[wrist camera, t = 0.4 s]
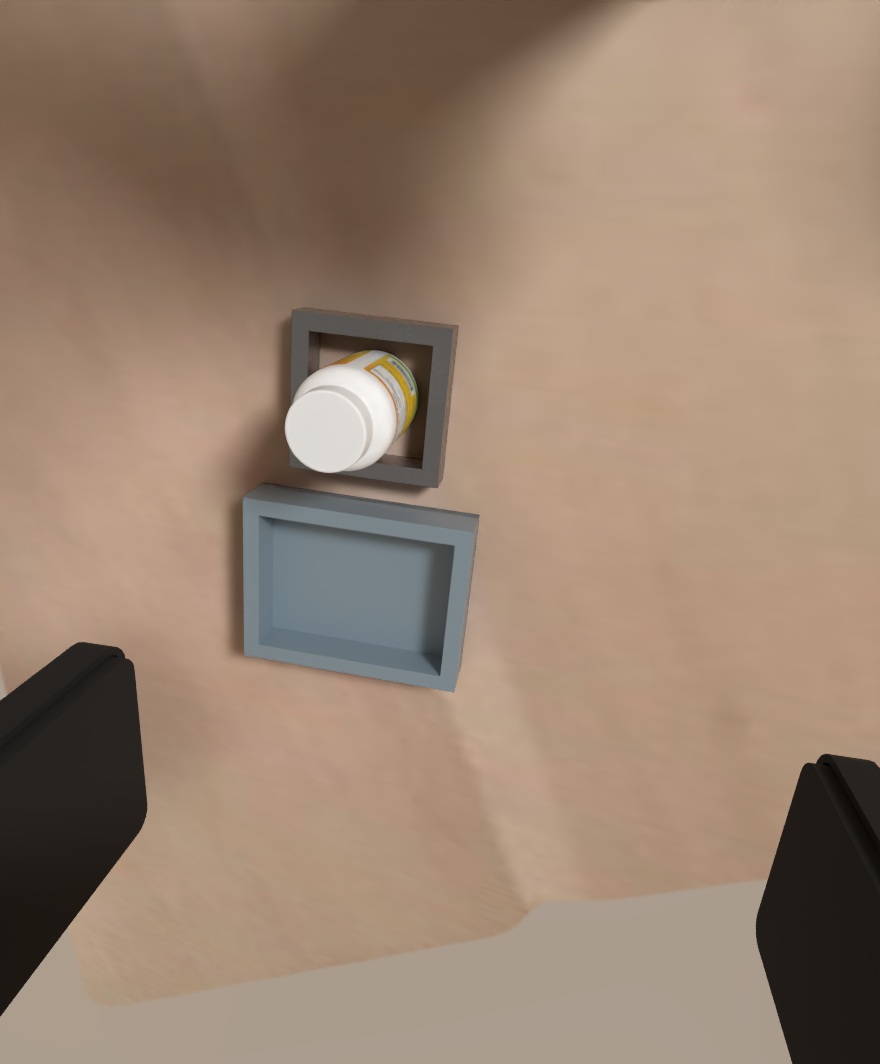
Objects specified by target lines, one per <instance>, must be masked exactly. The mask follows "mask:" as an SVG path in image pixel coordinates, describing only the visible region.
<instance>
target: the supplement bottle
mask: <svg viewBox="0 0 880 1064" xmlns="http://www.w3.org/2000/svg"><path fill="white" fill-rule="evenodd" d="M417 407H418V389H417V385H416V382H415V379H414V377H413V375H412V373H411V371H410V370H409V369H408V367H407V366H406V365H405V364H404V363H403V362H402V361H401V360H400V359H398V358H397V357H395V356H394V355H392V354H390V353H387V352H384V351H380V350H363V351H359V352H356V353H354V354H351V355H349V356H347V357H345V358H343V359H341V360H339V361H337V362H335V363H332V364H330V365H328V366H326V367H323V368H321V369H319V370H318V371H316V372H315V373H313V374H312V375H310V376H309V377H308V378H307V379H306V380H305V381H304V382H303V383H302V384H301V385H300V387H299V389H298V390H297V392H296V394H295V397H294V400H293V404H292V405H291V407H290V409H289V411H288V413H287V416H286V420H285V435H286V439H287V442H288V445H289V447H290V449H291V451H292V452H293V454H294V455H295V456H296V457H297V459H298V460H300V461H301V462H302V463H303V464H304V465H306V466H307V467H309V468H311V469H313V470H316V471H319V472H324V473H335V472H340V471H355V470H360V469H363V468H365V467H368V466H370V465H372V464H373V463H375V462H376V461H377V460H378V459H380V458H381V457H382V456H383V455H384V454H385V453H386V451H387V450H388V449H389V448H390V447H391V446H392V445H393V443H394V442H395V441H396V440H397V439H398V438H399V437H400V436H401V434H402V433H403V432H404V431H405V430H406V429H407V428H408V426H409V425H410V424H411V422H412V420H413V418H414V416H415V414H416V411H417Z"/></svg>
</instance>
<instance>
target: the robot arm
mask: <svg viewBox="0 0 880 1064" xmlns="http://www.w3.org/2000/svg"><path fill="white" fill-rule="evenodd" d="M146 813H147V797H146V786H145V776H144V765H143V754H142V744H141V733H140V723H139V712H138V701H137V691H136V680H135V670H134V665H133V663H132V661H131V660H129V659H125V655H124V653H123V651H122V650H121V649H119V648H118V647H112V646H106V645H99V644H92V643H86V642H78V643H76V644H75V645H73V646H71V647H70V648H69V649H67V650H66V651H65V652H63V653H62V654H61V655H59V656H58V657H57V658H56V659H54V660H53V661H52V662H50V663H49V664H48V665H46V666H45V667H44V668H42V669H41V670H40V671H39V672H37V673H36V674H35V675H33V676H32V677H31V678H29V679H28V680H27V681H25V682H24V683H23V684H21V685H20V686H19V687H18V688H16V689H15V690H14V691H12V692H11V693H10V694H8V695H7V696H6V697H4V698H3V699H2V700H1V701H0V1016H1V1015H2V1014H3V1012H4V1011H5V1010H6V1008H7V1007H8V1006H9V1004H10V1003H11V1002H12V1000H13V999H14V998H15V996H16V995H17V994H18V992H19V991H20V990H21V988H22V987H23V986H24V984H25V983H26V982H27V980H28V979H29V978H30V976H31V975H32V974H33V972H34V971H35V970H36V969H37V967H38V966H39V965H40V963H41V962H42V961H43V959H44V958H45V957H46V955H47V954H48V953H49V951H50V950H51V949H52V947H53V946H54V944H55V943H56V942H57V941H58V939H59V938H60V937H61V935H62V934H63V933H64V931H65V930H66V929H67V927H68V926H69V925H70V923H71V922H72V921H73V919H74V918H75V917H76V915H77V914H78V913H79V911H80V910H81V909H82V907H83V906H84V905H85V903H86V902H87V901H88V899H89V898H90V897H91V895H92V894H93V893H94V892H95V890H96V889H97V888H98V886H99V885H100V884H101V882H102V881H103V880H104V878H105V877H106V876H107V874H108V873H109V872H110V870H111V869H112V868H113V866H114V865H115V864H116V862H117V861H118V860H119V858H120V857H121V856H122V854H123V853H124V852H125V850H126V849H127V848H128V846H129V845H130V844H131V842H132V841H133V840H134V838H135V837H136V836H137V834H138V833H139V831H140V830H141V828H142V826H143V823H144V821H145V818H146ZM756 938H757V944H758V948H759V952H760V955H761V959H762V962H763V965H764V969H765V972H766V976H767V979H768V982H769V986H770V989H771V993H772V996H773V999H774V1003H775V1006H776V1009H777V1013H778V1016H779V1020H780V1023H781V1027H782V1030H783V1033H784V1037H785V1040H786V1044H787V1047H788V1050H789V1054H790V1057H791V1061H792V1064H880V768H879V767H878V766H877V765H876V763H875V762H872V761H870V760H864V759H857V758H850V757H844V756H837V755H831V754H824V755H821V757H820V758H819V759H818V760H817V763H816V764H814V763H806V764H805V765H804V766H803V768H802V770H801V773H800V776H799V779H798V783H797V786H796V789H795V793H794V796H793V799H792V802H791V806H790V809H789V812H788V816H787V819H786V822H785V825H784V829H783V832H782V835H781V838H780V842H779V845H778V848H777V852H776V855H775V858H774V861H773V865H772V868H771V871H770V875H769V878H768V881H767V884H766V888H765V891H764V894H763V897H762V901H761V904H760V908H759V911H758V914H757V919H756Z"/></svg>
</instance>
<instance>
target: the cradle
mask: <svg viewBox="0 0 880 1064" xmlns="http://www.w3.org/2000/svg"><path fill="white" fill-rule="evenodd" d="M320 332H322V333H331V334H339V335H347V336H355V337H364V338H372V339H380V340H389V341H397V342H405V343H413V344H422V345H430V346H433V353H432V364H431V375H430V387H429V398H428V409H427V420H426V431H425V442H424V453H423V459H416V458H408V457H401V456H394V455H387V454H384V455H383V456H382V457H381V458H380V459H378V460H377V461H376V462H375V463H373V464H372V465H370V466H368V467H365V468H363V469H360V470H355V471H340V472H335V474H342V475H349V476H356V477H363V478H370V479H377V480H384V481H391V482H398V483H404V484H411V485H418V486H425V487H432V488H438V486H439V484H440V483H441V481H442V479H443V471H444V462H445V452H446V442H447V432H448V423H449V413H450V403H451V393H452V383H453V374H454V364H455V354H456V344H457V335H458V325H449V324H440V323H432V322H423V321H415V320H406V319H398V318H389V317H381V316H372V315H364V314H355V313H346V312H338V311H329V310H321V309H312V308H299V309H294V310H292V326H291V386H290V407H291V405H292V404H293V400H294V397H295V394H296V392H297V390H298V389H299V387H300V385H301V384H302V383H303V382H304V381H305V380H306V379H307V378H308V377H309V376H310V375H312V374H313V373H315V372H316V371H318V370H319V352H320ZM289 467H294V468H300V469H307V470H313V469H311V468H309V467H307V466H306V465H304V464H303V463H302V462H301V461H300V460H298V459H297V457H296V456H295V455H294V454H293V452H292V451H291V449H290V447H289ZM314 471H316V470H314Z"/></svg>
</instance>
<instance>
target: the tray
mask: <svg viewBox="0 0 880 1064" xmlns="http://www.w3.org/2000/svg"><path fill="white" fill-rule="evenodd" d="M479 516H480V515H477V514H470V513H463V512H456V511H449V510H443V509H436V508H429V507H422V506H416V505H409V504H402V503H395V502H389V501H382V500H375V499H368V498H361V497H355V496H348V495H341V494H334V493H328V492H321V491H314V490H307V489H300V488H294V487H287V486H280V485H273V484H267V483H261V484H260V485H259V486H257V487H256V488H255V489H253V490H252V491H251V492H249V493H248V494H247V495H246V496H244V497H243V589H244V655H246V656H251V657H257V658H263V659H268V660H274V661H280V662H285V663H291V664H297V665H302V666H308V667H313V668H319V669H325V670H330V671H336V672H342V673H347V674H353V675H359V676H364V677H370V678H376V679H381V680H387V681H392V682H398V683H404V684H409V685H415V686H421V687H426V688H432V689H438V690H443V691H449V692H454V691H455V687H456V683H457V679H458V675H459V671H460V667H461V660H462V652H463V644H464V636H465V628H466V620H467V612H468V604H469V596H470V588H471V580H472V572H473V564H474V556H475V548H476V540H477V532H478V524H479Z"/></svg>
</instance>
